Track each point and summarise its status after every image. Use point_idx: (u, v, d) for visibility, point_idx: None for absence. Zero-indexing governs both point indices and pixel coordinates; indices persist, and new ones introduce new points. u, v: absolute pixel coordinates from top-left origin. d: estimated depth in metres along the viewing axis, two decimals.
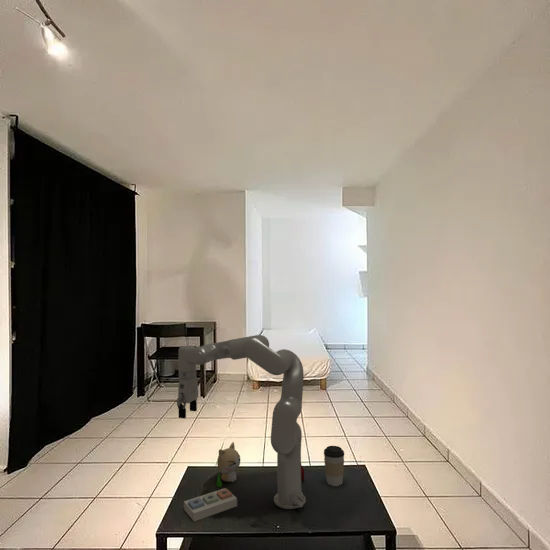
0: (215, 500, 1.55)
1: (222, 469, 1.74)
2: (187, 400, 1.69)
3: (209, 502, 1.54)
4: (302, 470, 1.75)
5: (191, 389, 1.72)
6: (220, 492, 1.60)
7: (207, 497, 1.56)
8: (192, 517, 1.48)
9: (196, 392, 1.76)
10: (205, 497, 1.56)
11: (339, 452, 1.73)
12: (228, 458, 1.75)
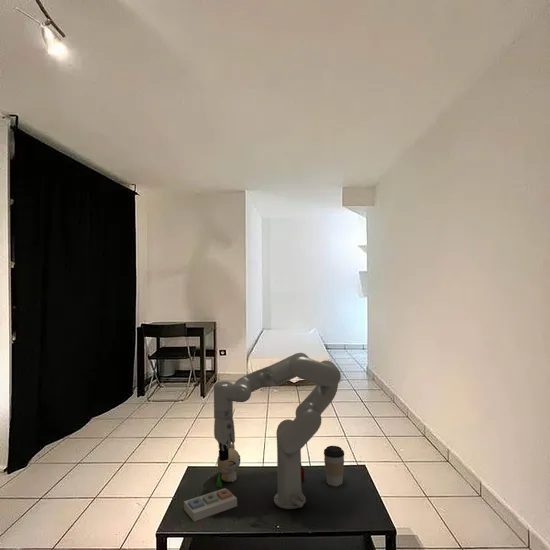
0: (215, 500, 1.55)
1: (222, 469, 1.74)
2: (234, 440, 1.58)
3: (209, 502, 1.54)
4: (302, 470, 1.75)
5: None
6: (220, 492, 1.60)
7: (207, 497, 1.56)
8: (192, 517, 1.48)
9: None
10: (205, 497, 1.56)
11: (339, 452, 1.73)
12: None
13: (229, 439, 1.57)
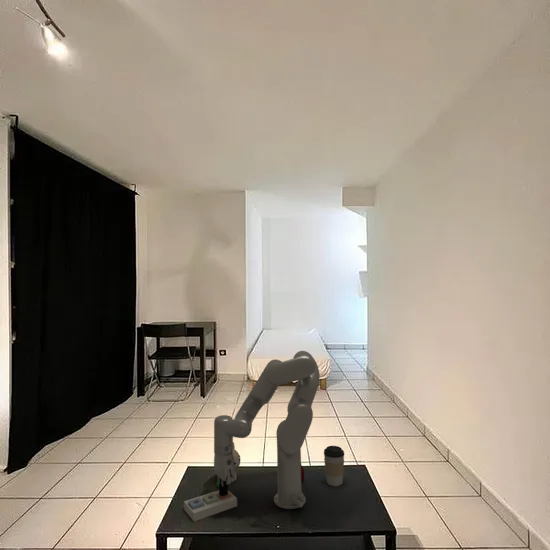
0: (215, 500, 1.55)
1: None
2: None
3: (209, 502, 1.54)
4: (302, 470, 1.75)
5: None
6: None
7: (207, 497, 1.56)
8: (192, 517, 1.48)
9: None
10: (205, 497, 1.56)
11: (339, 452, 1.73)
12: None
13: (229, 475, 1.56)
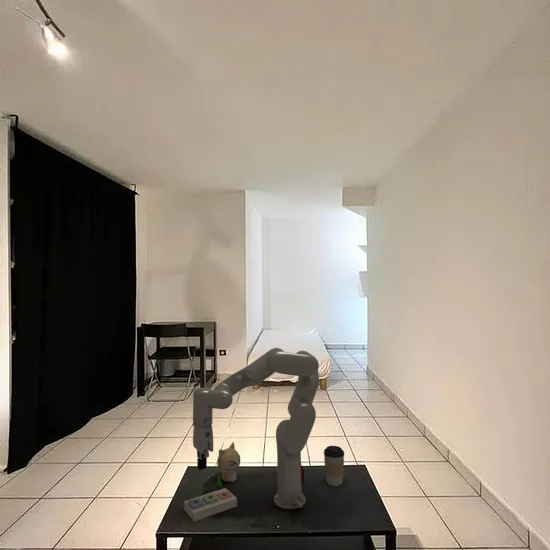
0: (215, 500, 1.55)
1: (222, 469, 1.74)
2: None
3: (209, 502, 1.54)
4: (302, 470, 1.75)
5: None
6: (220, 494, 1.60)
7: (207, 497, 1.56)
8: (192, 517, 1.48)
9: None
10: (205, 497, 1.56)
11: (339, 452, 1.73)
12: (228, 458, 1.75)
13: (207, 448, 1.52)
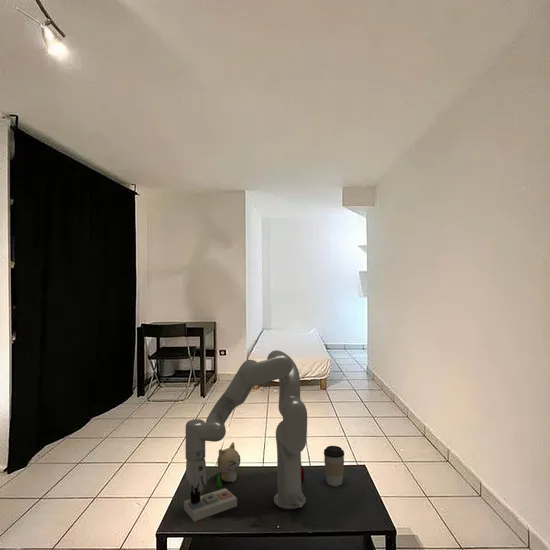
0: (215, 500, 1.55)
1: (222, 469, 1.74)
2: (206, 482, 1.51)
3: (209, 502, 1.54)
4: (302, 470, 1.75)
5: None
6: (220, 494, 1.60)
7: (207, 497, 1.56)
8: (192, 517, 1.48)
9: None
10: (205, 497, 1.56)
11: (339, 452, 1.73)
12: (228, 458, 1.75)
13: (200, 482, 1.50)
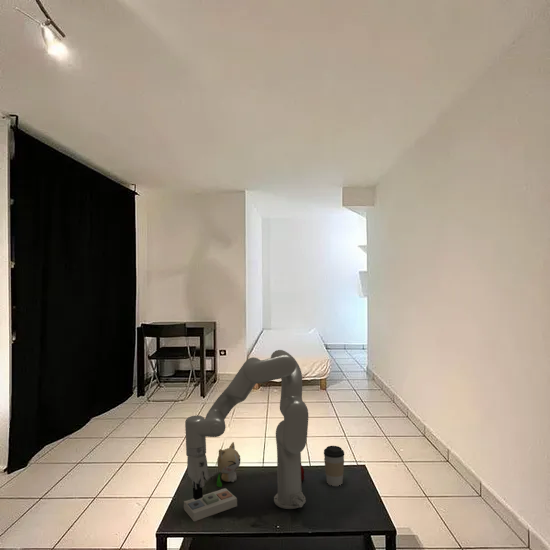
0: (215, 500, 1.55)
1: (222, 469, 1.74)
2: None
3: (209, 502, 1.54)
4: (302, 470, 1.75)
5: None
6: (220, 494, 1.60)
7: (207, 497, 1.56)
8: (192, 517, 1.48)
9: None
10: (205, 497, 1.56)
11: (339, 452, 1.73)
12: (228, 458, 1.75)
13: (202, 477, 1.50)
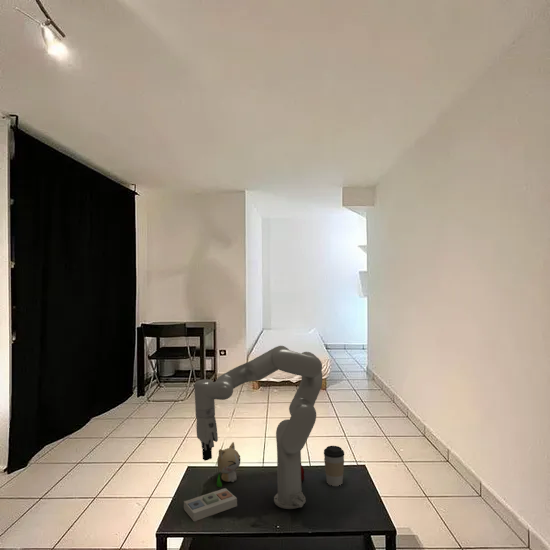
0: (215, 500, 1.55)
1: (222, 469, 1.74)
2: (217, 438, 1.55)
3: (209, 502, 1.54)
4: (302, 470, 1.75)
5: None
6: (220, 494, 1.60)
7: (207, 497, 1.56)
8: (192, 517, 1.48)
9: None
10: (205, 497, 1.56)
11: (339, 452, 1.73)
12: (228, 458, 1.75)
13: (212, 438, 1.54)
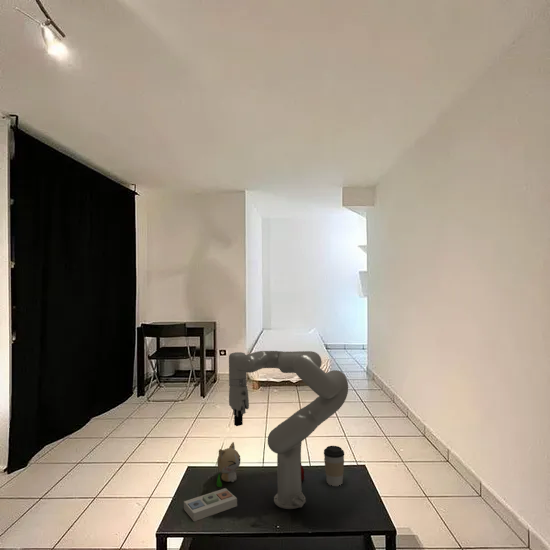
0: (215, 500, 1.55)
1: (222, 469, 1.74)
2: (248, 406, 1.69)
3: (209, 502, 1.54)
4: (302, 470, 1.75)
5: None
6: (220, 494, 1.60)
7: (207, 497, 1.56)
8: (192, 517, 1.48)
9: None
10: (205, 497, 1.56)
11: (339, 452, 1.73)
12: (228, 458, 1.75)
13: (243, 405, 1.68)
